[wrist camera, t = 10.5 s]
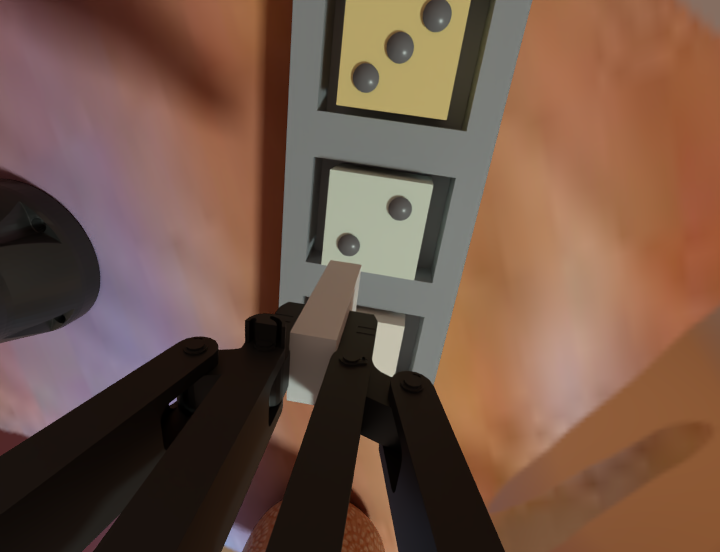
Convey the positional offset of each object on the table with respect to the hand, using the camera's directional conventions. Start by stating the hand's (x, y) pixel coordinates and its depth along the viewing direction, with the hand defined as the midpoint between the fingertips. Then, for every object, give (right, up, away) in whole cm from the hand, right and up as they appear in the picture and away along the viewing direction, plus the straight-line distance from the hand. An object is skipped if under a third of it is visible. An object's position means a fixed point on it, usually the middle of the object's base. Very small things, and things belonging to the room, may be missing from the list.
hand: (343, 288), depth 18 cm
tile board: (+3, +6, +13) cm, 15 cm away
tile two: (+2, +6, +12) cm, 14 cm away
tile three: (+4, +16, +8) cm, 18 cm away
